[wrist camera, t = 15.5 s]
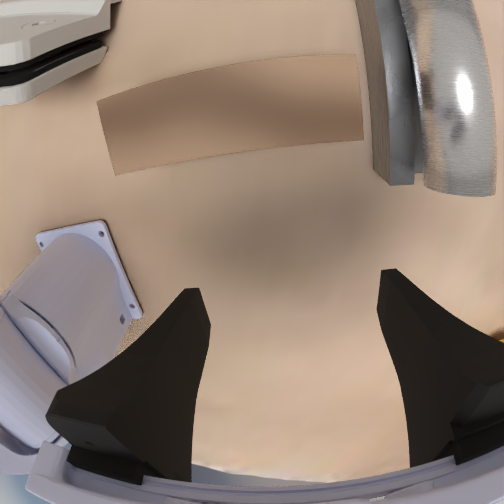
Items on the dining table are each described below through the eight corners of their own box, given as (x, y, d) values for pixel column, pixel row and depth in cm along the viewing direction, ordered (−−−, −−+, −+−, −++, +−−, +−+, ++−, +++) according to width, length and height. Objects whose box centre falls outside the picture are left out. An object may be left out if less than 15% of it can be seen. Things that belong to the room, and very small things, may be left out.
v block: (450, 166, 17) (474, 182, 15) (373, 169, 18) (390, 185, 15) (438, -1, 11) (462, -9, 9) (352, -12, 12) (367, -27, 9)
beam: (340, 124, 17) (364, 140, 13) (150, 151, 18) (115, 175, 14) (333, 61, 15) (355, 54, 11) (137, 93, 16) (96, 101, 12)
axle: (473, 179, 14) (510, 196, 10) (413, 178, 15) (440, 196, 11) (453, 12, 10) (484, -9, 6) (389, 3, 11) (409, -25, 7)
